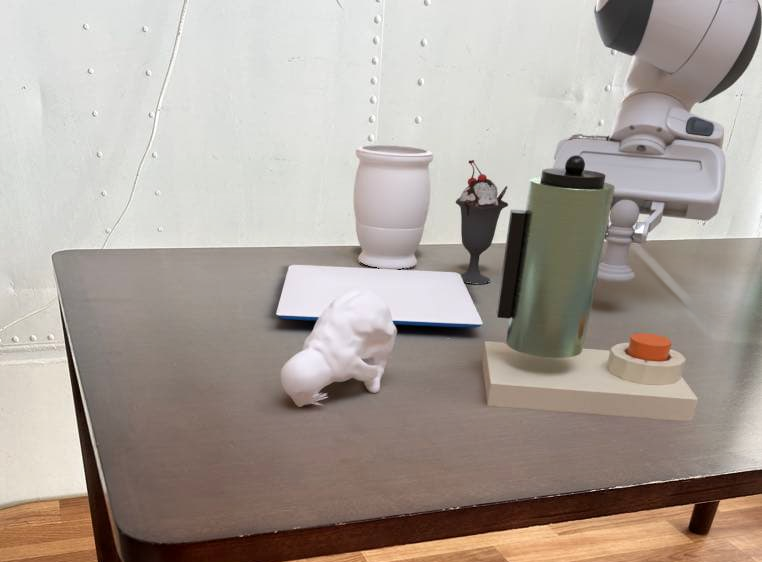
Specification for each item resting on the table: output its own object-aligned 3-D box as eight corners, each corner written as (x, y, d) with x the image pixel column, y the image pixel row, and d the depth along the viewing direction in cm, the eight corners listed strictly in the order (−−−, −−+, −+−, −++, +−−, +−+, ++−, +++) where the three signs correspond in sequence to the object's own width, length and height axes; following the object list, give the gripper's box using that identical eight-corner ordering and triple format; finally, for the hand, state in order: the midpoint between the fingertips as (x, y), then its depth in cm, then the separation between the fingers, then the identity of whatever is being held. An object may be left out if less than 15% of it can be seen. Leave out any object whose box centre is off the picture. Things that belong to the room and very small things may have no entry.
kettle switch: (662, 353, 77) (666, 334, 76) (671, 365, 74) (676, 346, 73) (623, 350, 77) (627, 331, 76) (630, 362, 74) (635, 343, 73)
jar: (434, 262, 120) (444, 150, 112) (408, 276, 112) (417, 156, 104) (368, 252, 124) (374, 142, 116) (338, 265, 115) (342, 148, 108)
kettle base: (660, 375, 82) (670, 336, 80) (691, 422, 72) (704, 379, 70) (481, 362, 83) (487, 323, 81) (487, 406, 73) (493, 363, 71)
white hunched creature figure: (404, 291, 71) (312, 333, 64) (402, 382, 76) (317, 430, 69) (348, 277, 74) (255, 315, 67) (350, 365, 79) (263, 409, 72)
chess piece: (601, 271, 103) (615, 194, 98) (641, 279, 100) (658, 200, 95) (581, 278, 99) (595, 199, 95) (622, 286, 96) (638, 205, 92)
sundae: (437, 277, 112) (449, 158, 104) (470, 271, 116) (484, 156, 108) (472, 288, 108) (487, 165, 100) (506, 282, 112) (523, 162, 104)
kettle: (573, 329, 81) (607, 150, 72) (587, 361, 72) (627, 163, 64) (490, 323, 81) (514, 144, 73) (495, 354, 73) (523, 156, 64)
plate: (481, 341, 89) (483, 322, 88) (275, 331, 88) (275, 312, 87) (458, 287, 108) (460, 271, 107) (289, 279, 107) (289, 263, 106)
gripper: (560, 114, 100) (531, 211, 97) (739, 127, 93) (713, 230, 91) (560, 151, 105) (533, 243, 103) (728, 165, 99) (704, 264, 96)
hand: (619, 238), depth 97 cm, fingers closed on chess piece, 3 cm apart
